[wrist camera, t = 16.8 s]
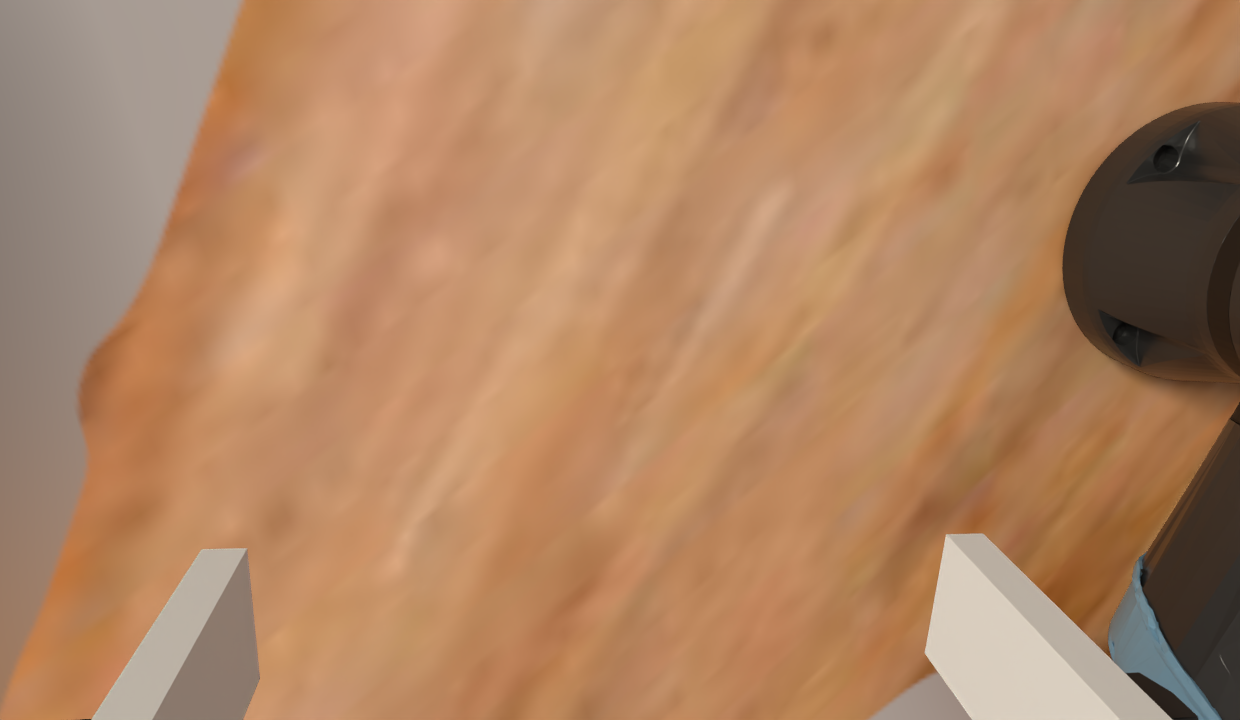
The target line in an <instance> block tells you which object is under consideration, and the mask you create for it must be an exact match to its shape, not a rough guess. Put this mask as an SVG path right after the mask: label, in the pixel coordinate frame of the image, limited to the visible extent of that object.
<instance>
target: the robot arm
mask: <svg viewBox="0 0 1240 720" xmlns="http://www.w3.org/2000/svg"><path fill="white" fill-rule="evenodd" d="M1063 282H1064V289H1065V294H1066V298H1067V302H1068V305H1069V308H1070V310H1071V313H1072V315H1073V317H1074V319H1075V321H1076V323H1077V325H1078V326H1079V328H1080V329H1081V331H1082V332H1083V333H1084V335H1085V336H1086V337H1087V338H1088V339H1089V341H1090V342H1091V343H1092V344H1094V345H1095V346H1096V347H1097V348H1098V349H1099V350H1101V351H1102V352H1103V353H1105V354H1106V355H1108V356H1110V357H1111V358H1113V359H1115V360H1117V361H1119V362H1122V363H1124V364H1126V365H1128V366H1130V367H1132V368H1134V369H1136V370H1138V371H1141V372H1143V373H1146V374H1149V375H1153V376H1156V377H1160V378H1165V379H1171V380H1182V381H1204V382H1226V383H1240V103H1231V102H1212V103H1203V104H1196V105H1192V106H1188V107H1184V108H1181V109H1178V110H1175V111H1173V112H1170V113H1168V114H1165V115H1163V116H1161V117H1159V118H1157V119H1155V120H1153V121H1152V122H1150V123H1148V124H1146V125H1145V126H1143V127H1142V128H1140V129H1139V130H1137V131H1136V132H1135V133H1133V134H1132V135H1131V136H1130V137H1128V138H1127V139H1126V140H1125V141H1124V142H1122V143H1121V144H1120V145H1119V146H1118V147H1117V148H1116V149H1115V150H1114V151H1113V152H1112V153H1111V154H1110V155H1109V156H1108V157H1107V159H1106V160H1105V161H1104V162H1103V163H1102V164H1101V166H1100V167H1099V168H1098V170H1097V171H1096V172H1095V174H1094V175H1093V177H1092V178H1091V179H1090V181H1089V183H1088V184H1087V186H1086V188H1085V189H1084V191H1083V193H1082V195H1081V197H1080V199H1079V201H1078V203H1077V205H1076V207H1075V210H1074V213H1073V215H1072V218H1071V221H1070V224H1069V227H1068V231H1067V235H1066V240H1065V245H1064V253H1063ZM1132 579H1133V580H1132V582H1131V584H1130V586H1129V588H1128V589H1127V591H1126V593H1125V595H1124V597H1123V599H1122V601H1121V603H1120V604H1119V606H1118V608H1117V610H1116V612H1115V614H1114V616H1113V618H1112V620H1111V623H1110V626H1109V632H1108V645H1109V649H1110V653H1111V657H1112V659H1113V661H1114V662H1113V661H1112V660H1111V659H1110V658H1109V657H1108V656H1107V655H1106V654H1105V653H1104V652H1103V651H1102V650H1101V649H1100V648H1099V647H1098V646H1097V645H1096V644H1095V643H1094V642H1093V641H1092V640H1091V639H1090V638H1089V637H1088V636H1087V635H1086V634H1085V633H1084V632H1083V631H1082V630H1081V629H1080V628H1079V627H1078V626H1077V625H1076V624H1075V623H1074V622H1073V621H1072V620H1070V619H1069V618H1068V617H1067V616H1066V615H1065V614H1064V613H1063V612H1062V611H1061V610H1060V609H1059V608H1058V607H1057V606H1056V605H1055V604H1054V603H1053V602H1052V601H1051V600H1050V599H1049V598H1048V597H1047V596H1046V595H1045V594H1044V593H1043V592H1042V591H1041V590H1040V589H1039V588H1038V587H1037V586H1036V585H1035V584H1034V583H1033V582H1032V581H1031V580H1030V579H1029V578H1028V577H1027V576H1026V575H1025V574H1024V573H1023V572H1022V571H1021V570H1020V569H1019V568H1018V567H1016V566H1015V565H1014V564H1013V563H1012V562H1011V561H1010V560H1009V559H1008V558H1007V557H1006V556H1005V555H1004V554H1003V553H1002V552H1001V551H1000V550H999V549H998V548H997V547H996V546H995V545H994V544H993V543H992V542H991V541H990V540H989V539H988V538H987V537H986V536H985V535H984V534H946V538H945V544H944V550H943V555H942V561H941V566H940V572H939V577H938V583H937V588H936V594H935V599H934V605H933V611H932V616H931V622H930V627H929V633H928V638H927V644H926V649H925V654H926V656H927V657H928V658H929V660H930V661H931V663H932V664H933V665H934V667H935V668H936V670H937V671H938V672H939V674H940V675H941V677H942V678H943V679H944V681H945V682H946V684H947V685H948V686H949V688H950V689H951V691H952V692H953V694H954V695H955V696H956V698H957V699H958V701H959V702H960V703H961V705H962V706H963V708H964V709H965V710H966V712H967V713H968V715H969V716H970V718H971V719H972V720H1240V403H1239V405H1238V406H1237V408H1236V410H1235V411H1234V413H1233V415H1232V416H1231V417H1230V418H1229V420H1228V422H1227V423H1226V425H1225V427H1224V428H1223V430H1222V432H1221V433H1220V435H1219V437H1218V438H1217V440H1216V442H1215V443H1214V445H1213V447H1212V448H1211V450H1210V452H1209V453H1208V455H1207V457H1206V458H1205V460H1204V462H1203V463H1202V465H1201V467H1200V468H1199V470H1198V472H1197V473H1196V475H1195V477H1194V478H1193V480H1192V481H1191V483H1190V485H1189V486H1188V488H1187V489H1186V491H1185V492H1184V494H1183V496H1182V497H1181V499H1180V500H1179V502H1178V504H1177V505H1176V507H1175V508H1174V510H1173V512H1172V513H1171V515H1170V516H1169V518H1168V520H1167V521H1166V523H1165V524H1164V526H1163V528H1162V529H1161V531H1160V532H1159V534H1158V536H1157V537H1156V539H1155V540H1154V542H1153V543H1152V545H1151V547H1150V548H1149V550H1148V551H1147V552H1146V553H1145V554H1144V555H1142V556H1141V557H1139V559H1138V560H1137V562H1136V564H1135V566H1134V570H1133V575H1132ZM259 679H260V674H259V664H258V654H257V644H256V634H255V624H254V614H253V603H252V593H251V583H250V573H249V563H248V553H247V548H241V549H202V550H201V551H200V553H199V554H198V556H197V557H196V559H195V560H194V562H193V563H192V565H191V567H190V568H189V570H188V571H187V573H186V574H185V576H184V577H183V579H182V580H181V582H180V584H179V585H178V587H177V588H176V590H175V591H174V593H173V594H172V596H171V597H170V599H169V601H168V602H167V604H166V605H165V607H164V608H163V610H162V611H161V613H160V614H159V616H158V618H157V619H156V621H155V622H154V624H153V625H152V627H151V628H150V630H149V631H148V633H147V635H146V636H145V638H144V639H143V641H142V642H141V644H140V645H139V647H138V648H137V650H136V652H135V653H134V655H133V656H132V658H131V659H130V661H129V662H128V664H127V665H126V667H125V668H124V670H123V672H122V673H121V675H120V676H119V678H118V679H117V681H116V682H115V684H114V685H113V687H112V689H111V690H110V692H109V693H108V695H107V696H106V698H105V699H104V701H103V702H102V704H101V706H100V707H99V709H98V710H97V712H96V713H95V715H94V716H93V718H92V719H82V720H243V718H244V716H245V713H246V711H247V708H248V706H249V704H250V701H251V699H252V696H253V694H254V692H255V689H256V687H257V684H258V682H259Z"/></svg>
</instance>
